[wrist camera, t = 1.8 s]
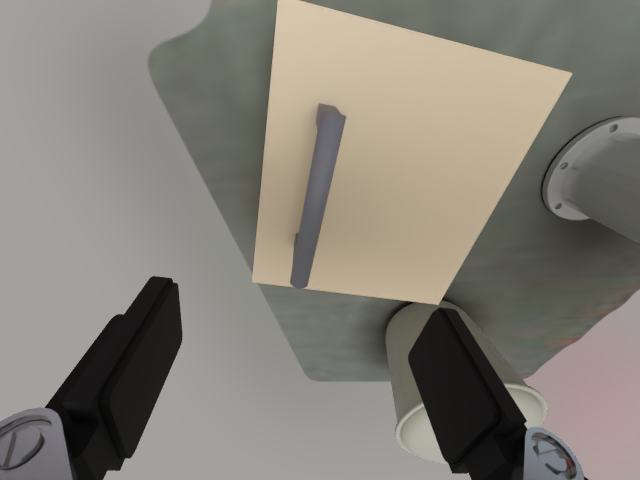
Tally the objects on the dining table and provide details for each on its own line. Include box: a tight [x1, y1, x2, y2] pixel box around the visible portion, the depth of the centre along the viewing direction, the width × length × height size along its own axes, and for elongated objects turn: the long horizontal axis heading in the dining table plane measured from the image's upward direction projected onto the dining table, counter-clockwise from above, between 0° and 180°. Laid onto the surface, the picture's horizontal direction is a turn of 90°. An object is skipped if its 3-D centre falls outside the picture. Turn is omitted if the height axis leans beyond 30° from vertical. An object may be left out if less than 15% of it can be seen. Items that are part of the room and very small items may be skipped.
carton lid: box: [252, 0, 573, 305], centre depth 21 cm, size 20×22×6 cm
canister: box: [386, 300, 548, 464], centre depth 39 cm, size 18×18×21 cm
